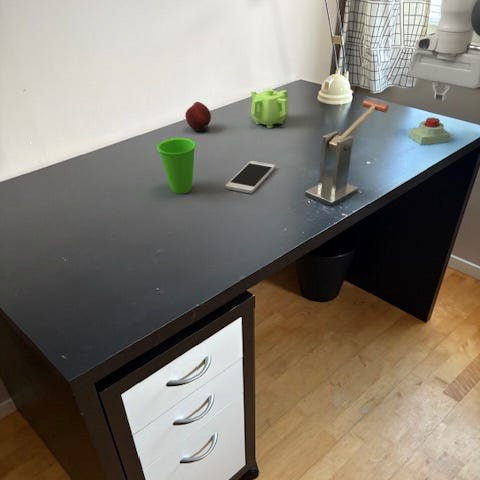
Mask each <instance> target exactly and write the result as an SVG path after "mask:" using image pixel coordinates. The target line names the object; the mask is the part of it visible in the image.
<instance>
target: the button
mask: <svg viewBox="0 0 480 480" xmlns="http://www.w3.org/2000/svg"><path fill="white" fill-rule="evenodd" d="M425 121H426V123H425V126H427V127H432V128H435V127H438V126H439V122H440V121H441V120H440V118H437V117H427V118H426V119H425ZM440 123H441V122H440Z"/></svg>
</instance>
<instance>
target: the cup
mask: <svg viewBox="0 0 480 480" xmlns="http://www.w3.org/2000/svg"><path fill="white" fill-rule="evenodd" d="M196 147H197V143H196V142H195V141H194V140H193V139H191V138H186V137H173V138H166V139H164V140H162V141H161V142H159V143H158V144H157V146H156V149H157V151H158V152H159V154H160V158H161V161H162V165H163V168H164V172H165V175H166V178H167V181H168V184H169V188H170V191H172V193H174V194H176V195H177V194H178V195H180V194H181V195H182V194H188V193H189V192H190V191H191V190H192V188H193V179H194V178H193V176H194V163H195V162H194V161H195V149H196Z"/></svg>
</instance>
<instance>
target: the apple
mask: <svg viewBox="0 0 480 480" xmlns="http://www.w3.org/2000/svg"><path fill="white" fill-rule="evenodd" d="M184 116H185V121H186V123H187V124H188V126H189V127H190V128H191V129H192V130H194V131H196V132H198V131H199V132H201V131H202V130H204V131H205V130H206V127H208V125H209V124H210V122H211V120H212V114H211V111H210V109H209V108H208V107H207V106H206V105H205V104H204V103H202V102H201V101H195V102H194V103H193V104H192V105H191V106H189V108H187V110H186V112H185V115H184Z"/></svg>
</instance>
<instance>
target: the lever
mask: <svg viewBox="0 0 480 480" xmlns="http://www.w3.org/2000/svg"><path fill="white" fill-rule="evenodd" d="M362 107H363V108H366V110H365V111H364V112H363V113H362V114H361V115H359V117H358V118H357V119H356V120H355V121H354V122H353V123H352V124H351V125H350V126H349V127H348V128H347V129H346V130H345V131H344V132H343V133H342V134H341V135H336V136H335V137H334V138H333V139H332V140H331V141H330V142H329V147H330V151H331V152H334V153H336V149H337V141H339V140H341V139H343V138H345V137H347V136H353V134H354V133H355V132H356V131H357V130H358V129H359V128H360V127H361V126H362V125H363V124H364V123H365V122H366V121H367V120H368V119H369V118H370V117H371V116H372V115H373V114H374V113H375V112H376V111H377V112H382V113H387V112H388V111H389V109H390V108H389V105H388V104H384V103H380V102H376V101H374V100H369V99H364V100H363V102H362Z"/></svg>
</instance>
